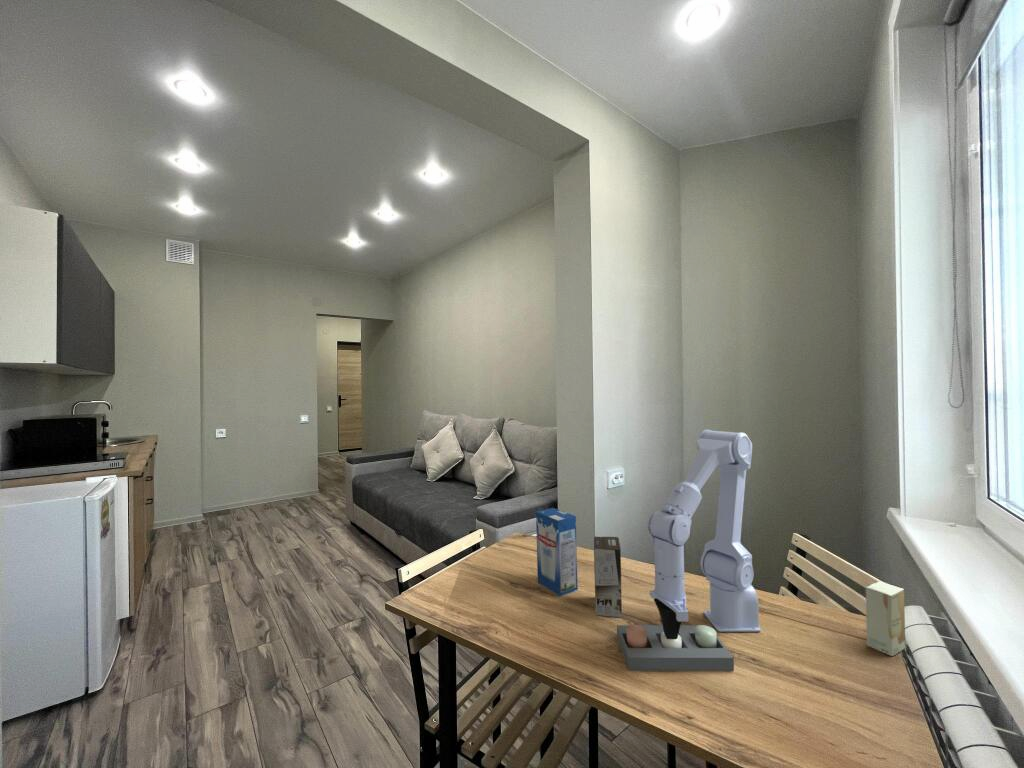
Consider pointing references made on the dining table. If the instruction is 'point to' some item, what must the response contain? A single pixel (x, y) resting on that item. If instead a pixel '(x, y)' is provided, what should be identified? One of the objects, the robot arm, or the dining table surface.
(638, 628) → the terracotta button
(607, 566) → the coffee box
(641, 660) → the button panel
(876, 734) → the dining table surface
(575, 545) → the milk carton
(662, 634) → the white rounded piece
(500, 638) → the dining table surface
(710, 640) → the pale green egg
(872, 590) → the skincare box
